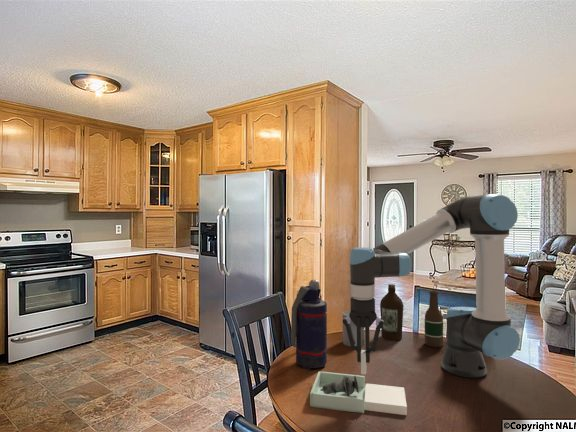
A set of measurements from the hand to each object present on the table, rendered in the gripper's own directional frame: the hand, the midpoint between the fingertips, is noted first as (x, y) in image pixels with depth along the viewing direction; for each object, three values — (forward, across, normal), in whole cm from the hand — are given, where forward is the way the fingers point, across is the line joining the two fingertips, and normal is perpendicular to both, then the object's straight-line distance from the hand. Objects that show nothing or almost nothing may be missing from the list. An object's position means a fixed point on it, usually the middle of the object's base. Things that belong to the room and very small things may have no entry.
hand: (363, 372), depth 114 cm
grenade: (+9, +22, -22) cm, 32 cm away
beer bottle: (+10, -28, -57) cm, 64 cm away
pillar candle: (+9, +7, -50) cm, 51 cm away
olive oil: (+9, -10, -62) cm, 63 cm away
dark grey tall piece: (+4, +2, -1) cm, 5 cm away
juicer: (+9, +23, -40) cm, 47 cm away
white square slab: (+9, -6, 0) cm, 11 cm away
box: (+9, +8, 0) cm, 11 cm away
